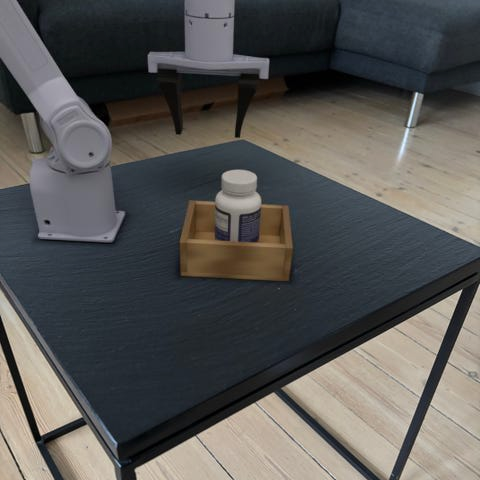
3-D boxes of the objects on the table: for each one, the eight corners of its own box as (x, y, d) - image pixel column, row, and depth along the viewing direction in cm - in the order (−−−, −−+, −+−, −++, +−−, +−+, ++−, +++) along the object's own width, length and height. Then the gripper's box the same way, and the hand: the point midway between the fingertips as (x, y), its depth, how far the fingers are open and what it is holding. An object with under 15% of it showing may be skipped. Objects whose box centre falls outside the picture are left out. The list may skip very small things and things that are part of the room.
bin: (180, 275, 60) (179, 241, 57) (189, 231, 68) (189, 200, 65) (288, 281, 60) (293, 248, 57) (284, 236, 68) (288, 205, 65)
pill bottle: (259, 242, 66) (265, 168, 60) (256, 265, 62) (262, 188, 55) (217, 238, 66) (218, 164, 60) (211, 260, 62) (212, 183, 56)
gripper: (271, 13, 63) (263, 126, 71) (151, 6, 62) (157, 120, 71) (272, 22, 57) (263, 144, 65) (141, 15, 57) (149, 138, 65)
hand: (208, 133), depth 68 cm, fingers open, 7 cm apart
